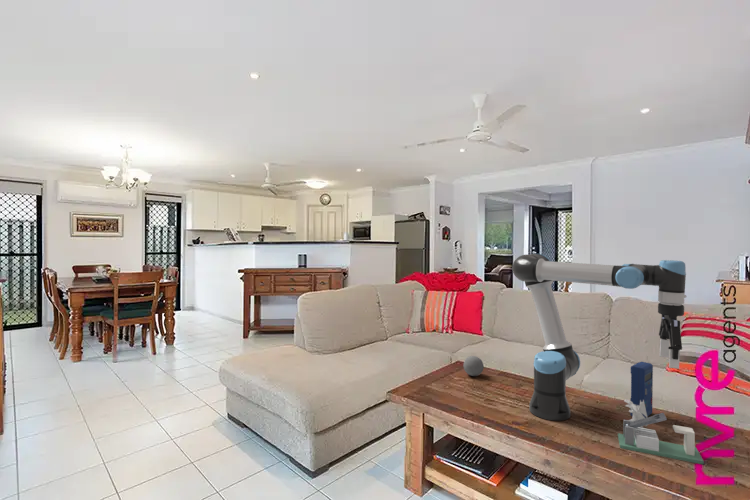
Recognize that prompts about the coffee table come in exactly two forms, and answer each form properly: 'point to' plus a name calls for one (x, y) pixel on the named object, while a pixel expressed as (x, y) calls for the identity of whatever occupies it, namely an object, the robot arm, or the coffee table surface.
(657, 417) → the strap
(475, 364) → the decorative ball
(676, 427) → the bracket
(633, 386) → the electronic device
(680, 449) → the board
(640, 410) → the figurine
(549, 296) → the robot arm
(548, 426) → the coffee table surface
